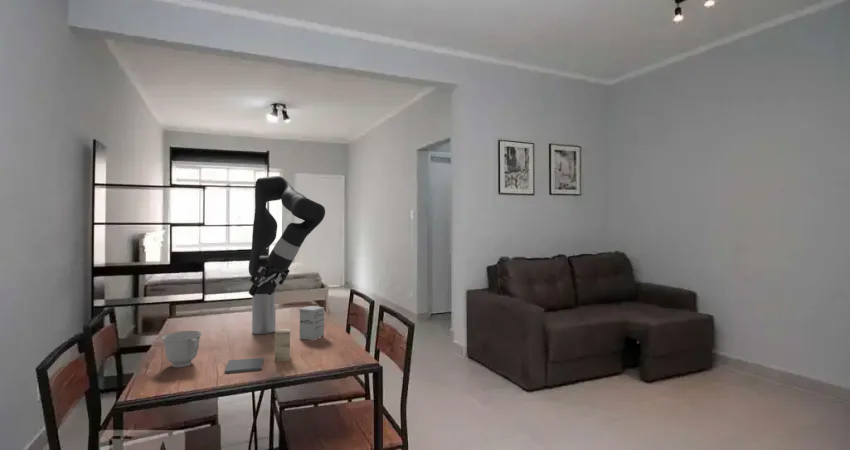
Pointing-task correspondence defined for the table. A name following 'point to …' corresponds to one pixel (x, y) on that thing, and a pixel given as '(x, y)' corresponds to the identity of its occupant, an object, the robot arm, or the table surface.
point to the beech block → (282, 345)
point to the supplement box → (311, 322)
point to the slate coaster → (244, 365)
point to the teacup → (181, 347)
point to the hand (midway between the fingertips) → (259, 294)
